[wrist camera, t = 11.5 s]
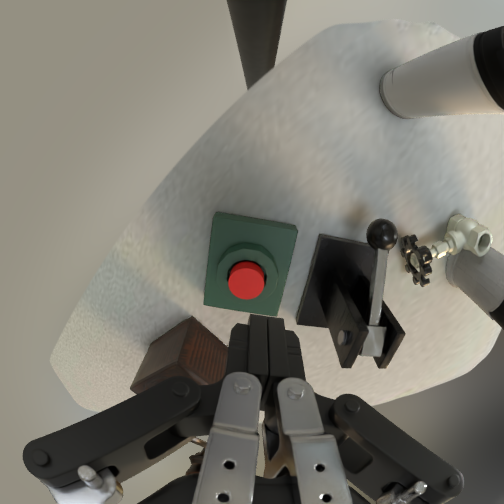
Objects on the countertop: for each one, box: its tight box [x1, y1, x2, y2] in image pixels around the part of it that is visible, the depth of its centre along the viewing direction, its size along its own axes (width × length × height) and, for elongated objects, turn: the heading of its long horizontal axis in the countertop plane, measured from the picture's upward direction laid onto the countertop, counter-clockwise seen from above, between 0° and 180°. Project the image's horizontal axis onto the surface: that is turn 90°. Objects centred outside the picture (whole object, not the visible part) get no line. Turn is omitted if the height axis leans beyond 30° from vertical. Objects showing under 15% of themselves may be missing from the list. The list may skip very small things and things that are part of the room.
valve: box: [400, 214, 492, 287], centre depth 27 cm, size 7×7×12 cm
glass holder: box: [446, 247, 504, 329], centre depth 25 cm, size 9×14×15 cm, turn 67°
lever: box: [358, 219, 398, 357], centre depth 24 cm, size 13×3×3 cm, turn 169°
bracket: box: [296, 234, 405, 368], centre depth 27 cm, size 12×9×13 cm
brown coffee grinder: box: [130, 317, 228, 475], centre depth 31 cm, size 16×11×18 cm
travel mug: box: [380, 26, 504, 119], centre depth 15 cm, size 6×7×20 cm
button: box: [228, 261, 264, 299], centre depth 28 cm, size 4×4×2 cm
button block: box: [204, 212, 298, 316], centre depth 31 cm, size 11×9×4 cm
